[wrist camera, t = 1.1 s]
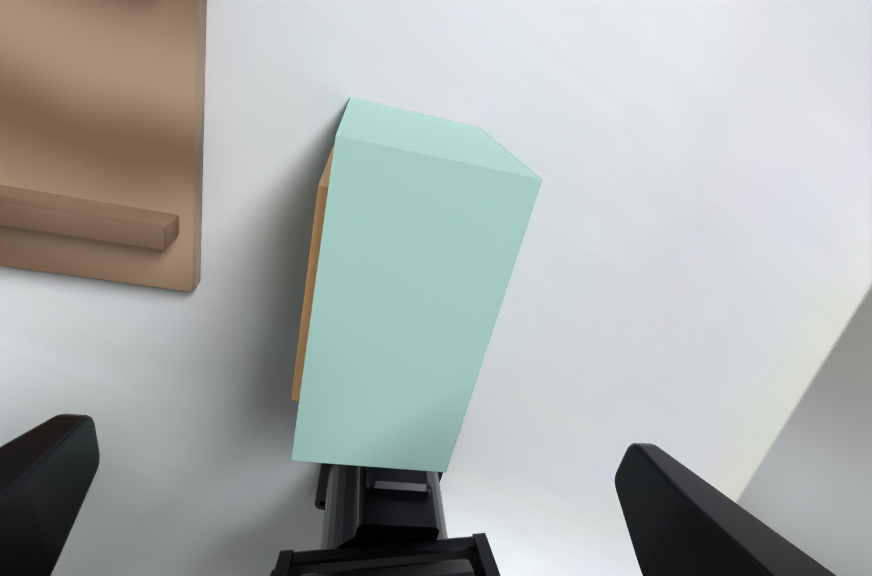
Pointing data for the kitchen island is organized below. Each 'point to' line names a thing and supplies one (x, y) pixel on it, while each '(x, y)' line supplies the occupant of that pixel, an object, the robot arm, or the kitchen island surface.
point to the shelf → (103, 138)
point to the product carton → (403, 285)
